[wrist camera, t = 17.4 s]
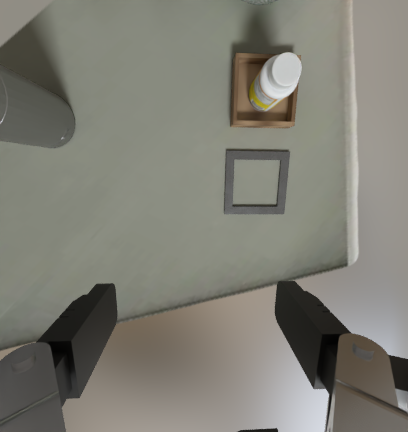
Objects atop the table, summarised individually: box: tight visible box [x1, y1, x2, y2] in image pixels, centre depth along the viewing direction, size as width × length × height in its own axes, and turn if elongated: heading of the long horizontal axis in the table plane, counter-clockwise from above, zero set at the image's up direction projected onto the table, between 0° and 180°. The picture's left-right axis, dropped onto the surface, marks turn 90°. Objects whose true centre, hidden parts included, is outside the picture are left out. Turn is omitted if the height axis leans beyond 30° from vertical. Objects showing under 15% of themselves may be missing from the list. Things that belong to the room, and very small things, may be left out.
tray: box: [231, 53, 301, 128], centre depth 37 cm, size 11×11×3 cm
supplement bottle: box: [248, 52, 302, 111], centre depth 33 cm, size 6×6×10 cm
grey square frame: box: [224, 151, 290, 214], centre depth 42 cm, size 12×12×1 cm
